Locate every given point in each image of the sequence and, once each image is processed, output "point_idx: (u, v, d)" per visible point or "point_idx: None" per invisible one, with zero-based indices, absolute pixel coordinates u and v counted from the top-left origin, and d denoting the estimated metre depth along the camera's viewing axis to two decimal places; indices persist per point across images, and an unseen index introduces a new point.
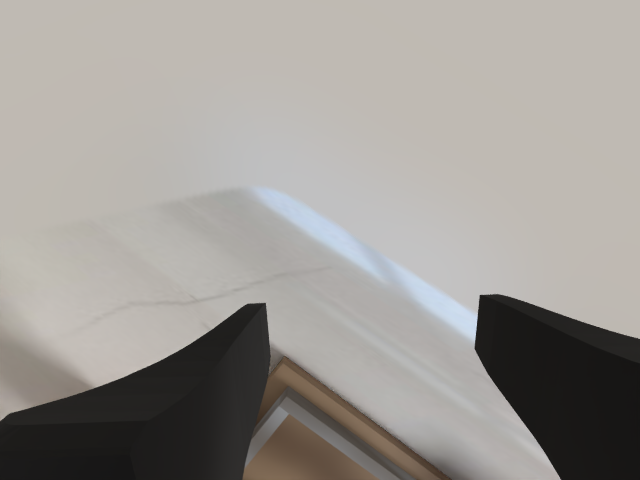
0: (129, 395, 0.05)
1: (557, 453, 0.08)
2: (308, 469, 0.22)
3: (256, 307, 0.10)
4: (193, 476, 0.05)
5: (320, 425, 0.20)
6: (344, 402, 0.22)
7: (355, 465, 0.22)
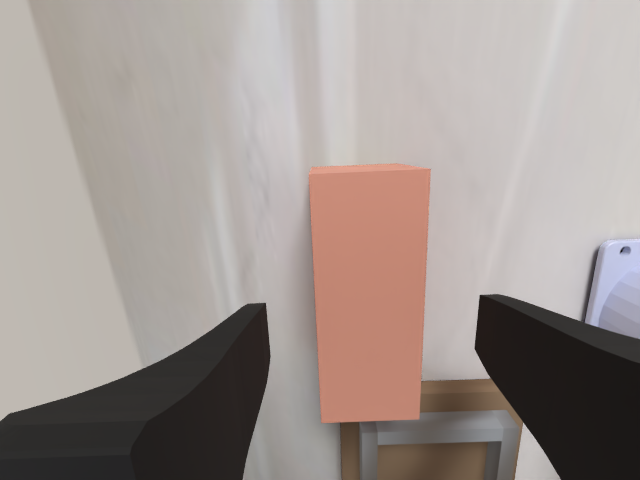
0: (129, 395, 0.05)
1: (557, 453, 0.08)
2: None
3: (256, 307, 0.10)
4: (193, 476, 0.05)
5: None
6: None
7: None
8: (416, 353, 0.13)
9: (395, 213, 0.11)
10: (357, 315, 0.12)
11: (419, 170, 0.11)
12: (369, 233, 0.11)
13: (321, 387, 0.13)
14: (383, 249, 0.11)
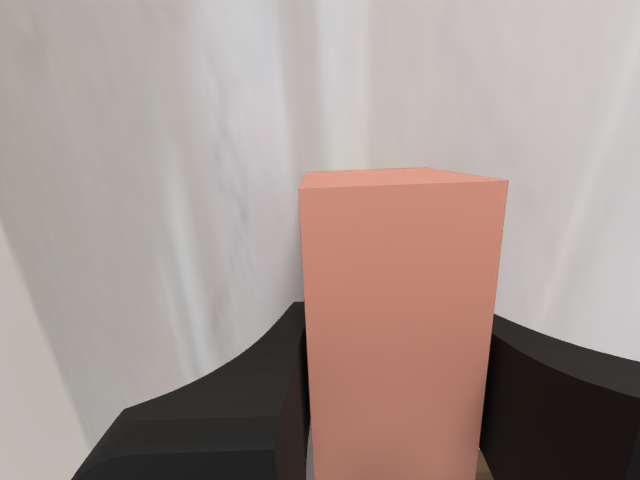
0: (229, 391, 0.05)
1: (491, 455, 0.08)
2: None
3: None
4: (292, 473, 0.05)
5: None
6: None
7: None
8: (467, 466, 0.08)
9: (444, 254, 0.07)
10: (376, 411, 0.08)
11: (489, 182, 0.06)
12: (400, 286, 0.07)
13: None
14: (422, 310, 0.07)
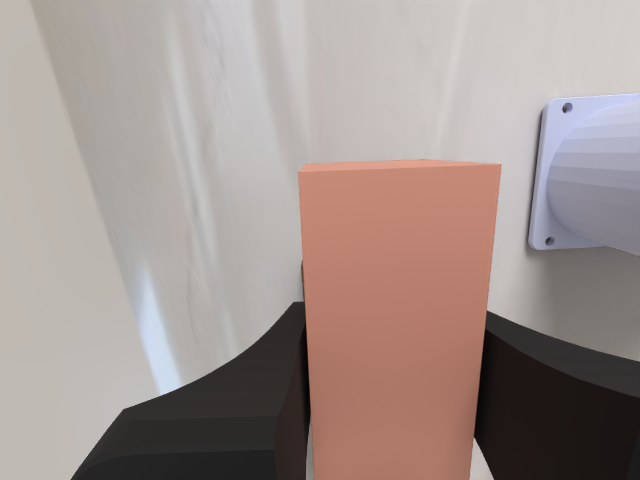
0: (229, 391, 0.05)
1: (492, 455, 0.08)
2: None
3: None
4: (292, 473, 0.05)
5: None
6: None
7: None
8: (463, 447, 0.08)
9: (439, 237, 0.07)
10: (374, 393, 0.08)
11: (482, 166, 0.06)
12: (397, 268, 0.07)
13: None
14: (418, 292, 0.07)
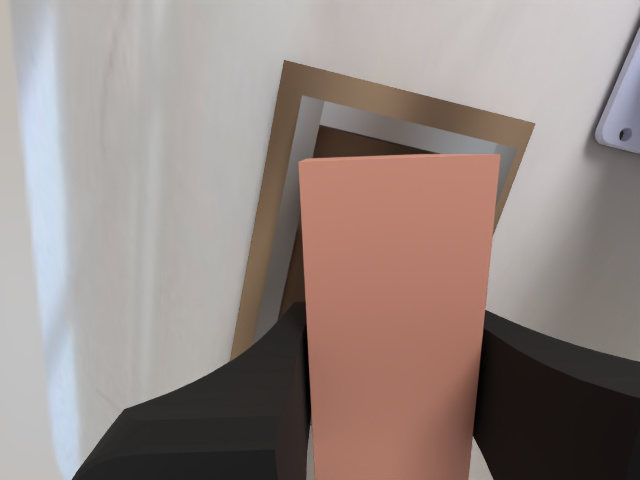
0: (230, 391, 0.05)
1: (491, 455, 0.08)
2: None
3: None
4: (292, 472, 0.05)
5: None
6: None
7: None
8: (463, 439, 0.08)
9: (438, 227, 0.07)
10: (374, 384, 0.08)
11: (481, 156, 0.07)
12: (396, 259, 0.07)
13: None
14: (417, 283, 0.07)
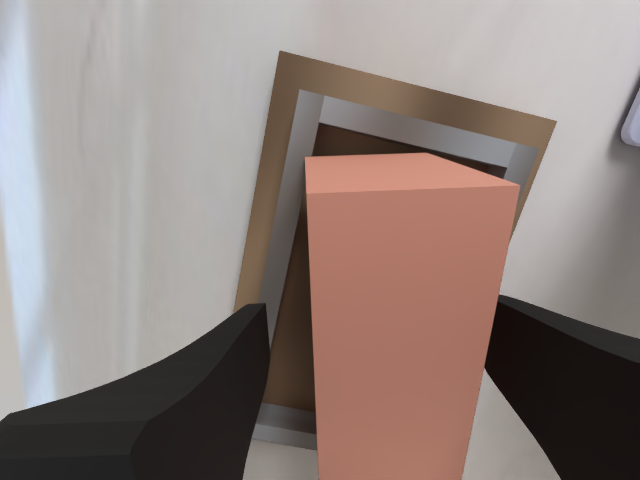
0: (129, 395, 0.05)
1: (557, 453, 0.08)
2: None
3: (256, 307, 0.10)
4: (193, 476, 0.05)
5: None
6: None
7: (308, 281, 0.13)
8: (460, 444, 0.09)
9: (451, 257, 0.07)
10: (378, 401, 0.08)
11: (501, 187, 0.06)
12: (406, 288, 0.07)
13: None
14: (426, 311, 0.07)
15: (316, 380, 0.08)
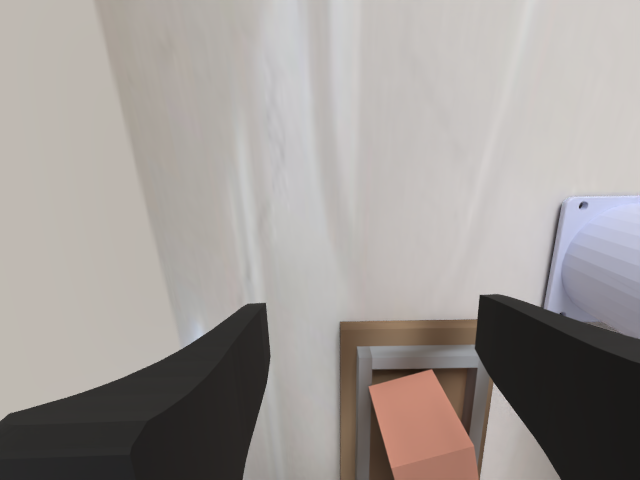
0: (129, 395, 0.05)
1: (557, 453, 0.08)
2: None
3: (256, 307, 0.10)
4: (193, 476, 0.05)
5: None
6: (340, 457, 0.24)
7: (380, 431, 0.23)
8: None
9: (454, 472, 0.16)
10: None
11: (466, 448, 0.15)
12: None
13: None
14: None
15: None
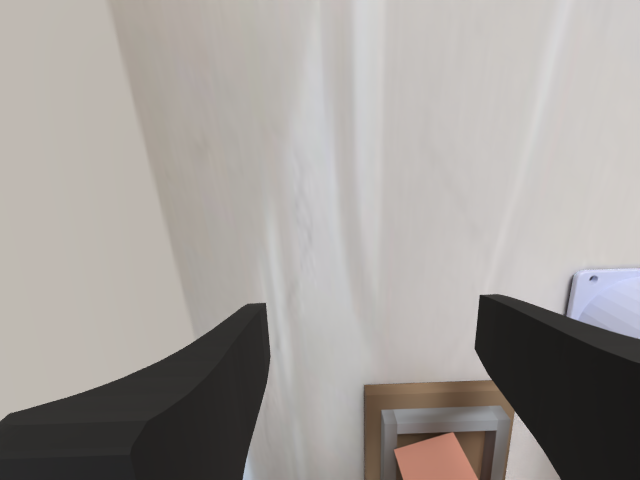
0: (129, 395, 0.05)
1: (557, 453, 0.08)
2: None
3: (256, 307, 0.10)
4: (193, 476, 0.05)
5: None
6: None
7: None
8: None
9: None
10: None
11: None
12: None
13: None
14: None
15: None
